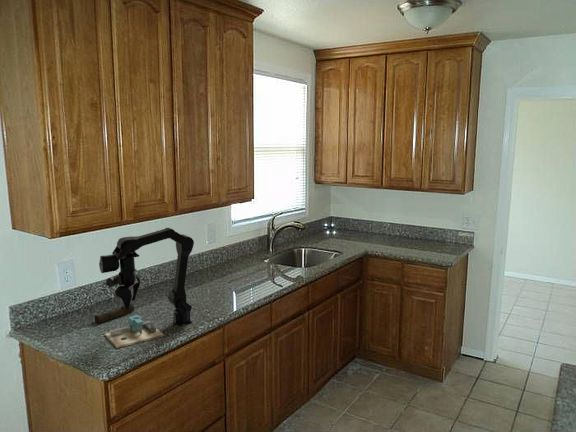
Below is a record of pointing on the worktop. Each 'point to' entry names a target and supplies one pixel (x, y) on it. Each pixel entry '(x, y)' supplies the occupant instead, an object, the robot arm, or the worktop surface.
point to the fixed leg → (150, 327)
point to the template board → (133, 337)
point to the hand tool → (114, 314)
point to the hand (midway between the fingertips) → (130, 304)
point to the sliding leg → (136, 323)
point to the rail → (125, 329)
